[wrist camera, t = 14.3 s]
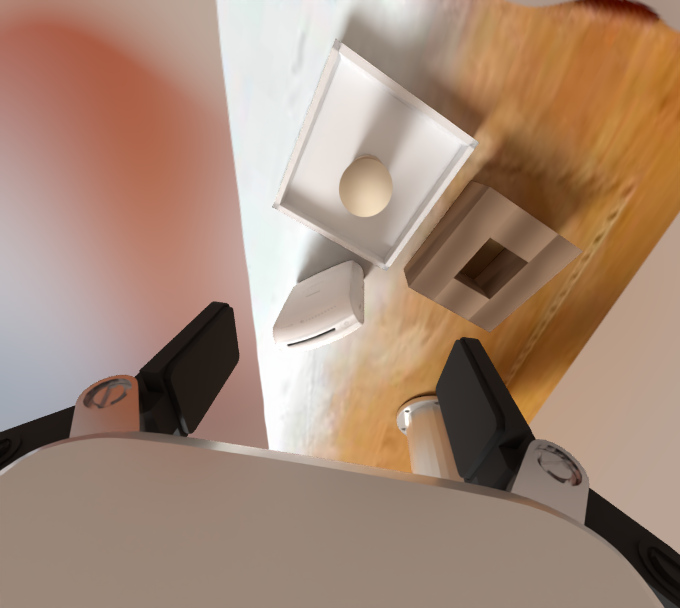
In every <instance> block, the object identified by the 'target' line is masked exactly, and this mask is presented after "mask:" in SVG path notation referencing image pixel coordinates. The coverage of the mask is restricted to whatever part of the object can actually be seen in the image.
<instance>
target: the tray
mask: <svg viewBox="0 0 680 608" xmlns="http://www.w3.org/2000/svg"><path fill="white" fill-rule="evenodd" d="M478 143H479V142H478V141H476V140H475V139H473V138H472V137H471V136H469V135H468V134H467V133H465V132H464V131H462V130H461V129H460V128H458V127H457V126H456V125H454V124H453V123H451V122H450V121H449V120H447V119H446V118H445V117H443V116H442V115H440V114H439V113H438V112H436V111H435V110H434V109H432V108H431V107H429V106H428V105H427V104H425V103H424V102H423V101H421V100H420V99H418V98H417V97H416V96H414V95H413V94H412V93H410V92H409V91H407V90H406V89H405V88H403V87H402V86H401V85H399V84H398V83H396V82H395V81H394V80H392V79H391V78H390V77H388V76H387V75H385V74H384V73H383V72H381V71H380V70H379V69H377V68H376V67H374V66H373V65H372V64H370V63H369V62H368V61H366V60H365V59H363V58H362V57H361V56H359V55H358V54H357V53H355V52H354V51H352V50H351V49H350V48H348V47H347V46H346V45H344V44H343V43H341V42H340V41H339V40H337V39H335V42H334V44H333V47H332V50H331V52H330V55H329V57H328V60H327V63H326V65H325V68H324V71H323V73H322V76H321V79H320V81H319V84H318V87H317V89H316V92H315V95H314V97H313V100H312V103H311V105H310V108H309V111H308V113H307V116H306V119H305V121H304V124H303V127H302V129H301V132H300V135H299V137H298V140H297V143H296V145H295V148H294V151H293V153H292V156H291V159H290V161H289V164H288V167H287V169H286V172H285V174H284V177H283V180H282V182H281V185H280V188H279V190H278V193H277V196H276V198H275V201H274V204H273V206H272V207H273V208H275V209H277V210H279V211H280V212H282V213H284V214H286V215H287V216H289V217H291V218H293V219H295V220H296V221H298V222H300V223H302V224H303V225H305V226H307V227H309V228H311V229H312V230H314V231H316V232H318V233H319V234H321V235H323V236H325V237H327V238H328V239H330V240H332V241H334V242H335V243H337V244H339V245H341V246H343V247H344V248H346V249H348V250H350V251H351V252H353V253H355V254H357V255H359V256H360V257H362V258H364V259H366V260H368V261H369V262H371V263H373V264H375V265H376V266H378V267H380V268H382V269H384V270H385V271H387V270H388V268H389V267H390V266H391V264H392V263H393V261H394V260H395V259H396V257H397V256H398V254H399V253H400V252H401V250H402V249H403V247H404V246H405V245H406V243H407V242H408V241H409V239H410V238H411V236H412V235H413V234H414V232H415V231H416V229H417V228H418V227H419V225H420V224H421V222H422V221H423V220H424V218H425V217H426V215H427V214H428V213H429V211H430V210H431V209H432V207H433V206H434V204H435V203H436V202H437V200H438V199H439V197H440V196H441V195H442V193H443V192H444V190H445V189H446V188H447V186H448V185H449V184H450V182H451V181H452V179H453V178H454V177H455V175H456V174H457V172H458V171H459V170H460V168H461V167H462V165H463V164H464V163H465V161H466V160H467V159H468V157H469V156H470V154H471V153H472V152H473V150H474V149H475V147H476V146H477V145H478ZM365 154H370V155H374V156H376V157H377V158H378V159H379V160H380V161H381V162H382V163H383V165H384V166H385V167H386V168H387V170H388V171H389V173H390V175H391V178H392V183H393V190H392V195H391V198H390V201H389V202H388V204H387V206H386V207H385V208H384V209H383V210H382V211H381V212H379V213H378V214H376V215H373V216H369V217H360V216H356V215H354V214H352V213H351V212H349V211H348V210H347V209H346V208H345V207H344V205H343V203H342V201H341V199H340V195H339V183H340V179H341V177H342V174H343V173H344V171H345V170H346V168H347V167H348V166H349V165H350V164H351V163H352V162H353V161H354V160H355V159H356V158H357V157H359V156H361V155H365Z"/></svg>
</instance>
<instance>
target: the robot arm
mask: <svg viewBox="0 0 680 608" xmlns="http://www.w3.org/2000/svg"><path fill="white" fill-rule="evenodd" d="M238 361H239V349H238V341H237V334H236V327H235V319H234V312H233V308H232V307H230V306H229V304H227V303H222V302H212V303H211V304H209V305H208V306H207V307H206V308H205V309H204V310H203V311H202V312H201V313H200V314H199V315H198V316H197V317H196V318H195V319H194V320H192V321H191V322H190V323H189V324H188V325H187V326H186V327H185V328H184V329H183V330H182V331H181V332H180V333H179V334H178V335H177V336H176V337H175V338H173V340H171V341H170V342H169V343H168V344H167V345H166V346H165V347H164V348H163V349H162V350H161V351H160V352H158V354H156V355H155V356H154V357H153V358H152V359H151V360H150V361H149V362H148V363H147V364H146V365H145V366H144V367H143V368H141V369H140V372H139V373H138V374H137V375H136V376H135V377H133V376H129V375H116V376H111V377H108V378H105V379H102V380H100V381H98V382H96V383H94V384H92V385H91V386H90V387H88V388H87V389H85V390H84V391H83V392H82V394H81V395H80V396H79V397H78V399H77V402H76V405H75V406H72V407H69V408H67V409H64V410H61V411H58V412H55V413H53V414H50V415H47V416H44V417H41V418H39V419H36V420H33V421H30V422H28V423H25V424H22V425H19V426H16V427H14V428H11V429H8V430H5V431H3V432H0V608H680V555H679V554H678V553H677V552H676V551H675V550H673V549H672V548H671V547H670V546H668V545H667V544H666V543H664V542H663V541H662V540H660V539H659V538H657V537H656V536H655V535H653V534H652V533H651V532H649V531H648V530H647V529H645V528H644V527H642V526H641V525H640V524H638V523H637V522H636V521H634V520H633V519H631V518H630V517H629V516H627V515H626V514H624V513H623V512H622V511H620V510H619V509H617V508H616V507H615V506H614V505H612V504H611V503H610V502H608V501H607V500H605V499H604V498H603V497H601V496H600V495H599V494H597V493H596V492H595V491H593V490H592V489H590V488H589V479H588V476H587V474H586V472H585V470H584V468H583V467H582V466H581V464H580V463H579V462H578V461H577V460H576V459H575V458H574V457H573V456H572V455H571V454H570V453H569V452H567V451H566V450H565V449H563V448H562V447H560V446H558V445H556V444H554V443H552V442H549V441H547V440H540V439H537V440H536V439H535V437H534V435H533V434H532V432H531V429H530V427H529V426H528V424H527V422H526V421H525V419H524V417H523V415H522V414H521V412H520V410H519V408H518V407H517V405H516V403H515V402H514V400H513V398H512V396H511V395H510V393H509V391H508V389H507V388H506V386H505V384H504V383H503V381H502V379H501V377H500V376H499V374H498V372H497V371H496V369H495V367H494V365H493V364H492V362H491V360H490V358H489V357H488V355H487V353H486V352H485V350H484V348H483V346H482V345H481V343H480V341H479V340H478V339H473V338H466V337H462V338H461V339H460V340H456V341H455V343H454V346H453V348H452V350H451V353H450V355H449V357H448V360H447V362H446V364H445V367H444V369H443V371H442V374H441V376H440V378H439V381H438V383H437V386H436V394H437V396H423V397H418V398H415V399H412V400H410V401H408V402H407V403H405V404H404V405H403V406H402V407H401V408H400V409H399V410H398V413H397V417H396V418H397V425H398V428H399V429H400V431H402V432H403V433H404V434H405V435H407V439H408V447H409V454H410V462H411V469H412V473H408V472H402V471H396V470H390V469H384V468H378V467H372V466H366V465H360V464H354V463H348V462H342V461H336V460H330V459H323V458H317V457H311V456H305V455H299V454H293V453H286V452H280V451H274V450H268V449H261V448H255V447H248V446H242V445H235V444H229V443H223V442H216V441H210V440H204V439H197V438H189V437H187V436H188V434H191V433H193V432H194V431H195V430H196V428H197V426H198V425H199V423H200V422H201V420H202V419H203V417H204V415H205V414H206V412H207V411H208V409H209V407H210V406H211V404H212V403H213V401H214V400H215V398H216V396H217V395H218V393H219V392H220V390H221V388H222V387H223V385H224V384H225V382H226V380H227V379H228V377H229V376H230V374H231V373H232V371H233V369H234V368H235V366H236V365H237V363H238Z"/></svg>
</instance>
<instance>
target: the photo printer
mask: <svg viewBox="0 0 680 608" xmlns="http://www.w3.org/2000/svg"><path fill="white" fill-rule="evenodd" d="M363 323H364V274H363V270H362V268H361V266H360V265H359V264H357V263H356V262H354V261H353V260H350V261H346V262H343V263H341V264H338V265H336V266H333V267H331V268H329V269H327V270H324V271H322V272H320V273H318V274H316V275H314V276H312V277H310V278H308V279H305V280H304V281H302V282H300V283H298V284H297V285H296V286H294V287H293V289H292V291H291V293H290V295H289V297H288V298H287V300H286V302H285V304H284V306H283V308H282V310H281V312H280V314H279V316H278V318H277V320H276V322H275V324H274V327H273V337H274V341H275V343H276V344H277V345H278V346H279V347H280V349H281V351H283V352H301V351H306V350H310V349H315V348H318V347H321V346H324V345H326V344H329V343H331V342H334V341H336V340H338V339H340V338H342V337H344V336H346V335H348V334H350V333H352V332H353V331H355V330H356V329H358V328H359V327H360V326H361V325H363Z"/></svg>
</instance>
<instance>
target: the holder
mask: <svg viewBox="0 0 680 608" xmlns="http://www.w3.org/2000/svg"><path fill="white" fill-rule="evenodd" d="M489 238H491V239H493V240H494V241H496V242H498V243H499V244H501V245H502V246H504V247H505V248H504V249H503V250H502V252H501V253H500V254H499V255H498V256H497V257H496V258H495V259H494V260H493V261H492V262H491V263H490V264H489V265H488V266H487V267H486V268H485V269H484V270H483V271H482V272H481V273H480V274H479V276H478V277H477V278H476V279H475V280H474V279H472V278H470V277H469V276H467V275H465V274H464V273H462V272H460V270H461V269H462V268H463V267H464V266H465V265H466V263H467V262H468V261H469V260H470V259H471V258H472V257H473V256H474V255H475V253H476V252H477V251H478V250H479V249H480V248H481V247H482V246H483V245H484V243H485V242H486V241H487V240H488V239H489ZM582 252H583V251H582V250H580V249H579V248H578V247H576V246H575V245H573V244H572V243H570V242H569V241H567V240H566V239H565V238H563V237H562V236H560V235H559V234H557V233H556V232H554V231H553V230H552V229H550V228H549V227H547V226H546V225H544V224H543V223H541V222H540V221H539V220H537V219H536V218H534V217H533V216H531V215H530V214H529V213H527V212H526V211H524V210H523V209H521V208H520V207H518V206H517V205H516V204H514V203H513V202H511V201H510V200H508V199H507V198H505V197H504V196H503V195H501V194H500V193H498V192H497V191H495V190H494V189H493V188H491V187H489V186H486V185H483V184H480V183H477V182H475V181H472V180H471V181H470V182H469V184H468V185H467V186H466V188H465V189H464V190H463V192H462V193H461V194H460V196H459V197H458V198H457V199H456V201H455V202H454V203H453V205H452V206H451V207H450V209H449V210H448V211H447V213H446V214H445V215H444V217H443V218H442V219H441V221H440V222H439V223H438V225H437V226H436V227H435V228H434V230H433V231H432V232H431V234H430V235H429V236H428V238H427V239H426V240H425V242H424V243H423V244H422V246H421V247H420V248H419V250H418V251H417V252H416V254H415V255H414V256H413V257H412V259H411V260H410V261H409V263H408V264H407V265H406V267H405V268H404V272H405V276H406V279H407V283H408V286H409V288H411V289H413V290H415V291H416V292H418V293H420V294H422V295H424V296H425V297H427V298H429V299H431V300H433V301H434V302H436V303H438V304H440V305H442V306H443V307H445V308H447V309H449V310H450V311H452V312H454V313H456V314H458V315H459V316H461V317H463V318H465V319H467V320H468V321H470V322H472V323H474V324H476V325H477V326H479V327H481V328H483V329H484V330H486V331H488V332H491V331H492V330H493V329H494V328H495V327H497V326H498V325H499V324H500V323H501V322H502V321H504V320H505V319H506V318H507V317H508V316H509V315H510V314H512V313H513V312H514V311H515V310H516V309H517V308H519V307H520V306H521V305H522V304H523V303H524V302H525V301H527V300H528V299H529V298H530V297H531V296H532V295H533V294H535V293H536V292H537V291H538V290H539V289H540V288H542V287H543V286H544V285H545V284H546V283H547V282H548V281H550V280H551V279H552V278H553V277H554V276H555V275H557V274H558V273H559V272H560V271H561V270H562V269H563V268H565V267H566V266H567V265H568V264H569V263H570V262H572V261H573V260H574V259H575V258H576V257H577V256H578V255H580V254H581V253H582Z"/></svg>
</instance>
